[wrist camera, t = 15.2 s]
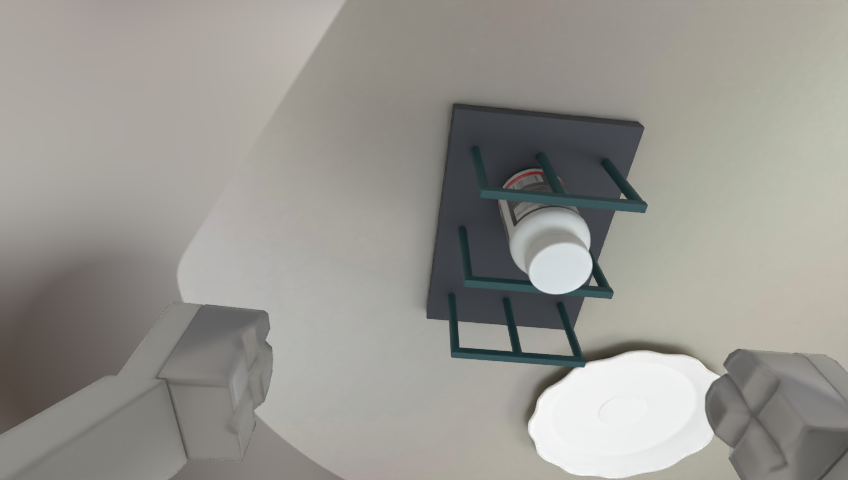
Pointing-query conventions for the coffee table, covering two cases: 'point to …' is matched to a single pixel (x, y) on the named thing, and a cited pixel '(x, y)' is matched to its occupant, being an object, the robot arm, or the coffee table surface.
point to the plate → (624, 415)
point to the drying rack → (483, 188)
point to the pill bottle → (546, 237)
